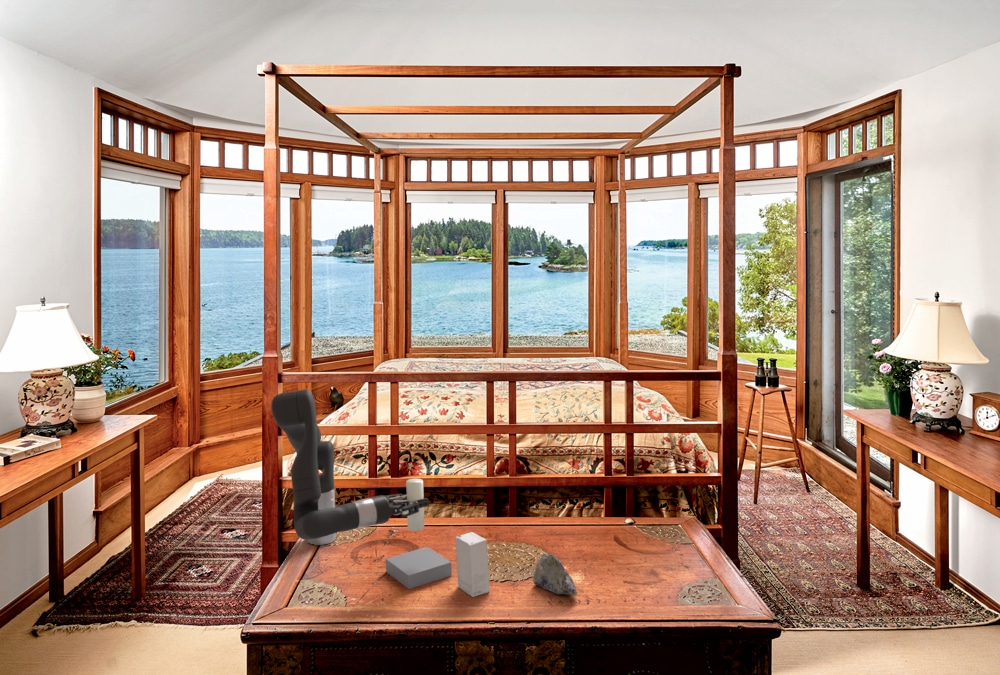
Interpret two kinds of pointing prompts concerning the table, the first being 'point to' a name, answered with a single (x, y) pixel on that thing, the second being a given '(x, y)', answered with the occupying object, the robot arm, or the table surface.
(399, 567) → the slate plinth
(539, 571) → the mineral rock
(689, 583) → the table surface
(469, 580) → the skincare box
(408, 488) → the white cylinder
